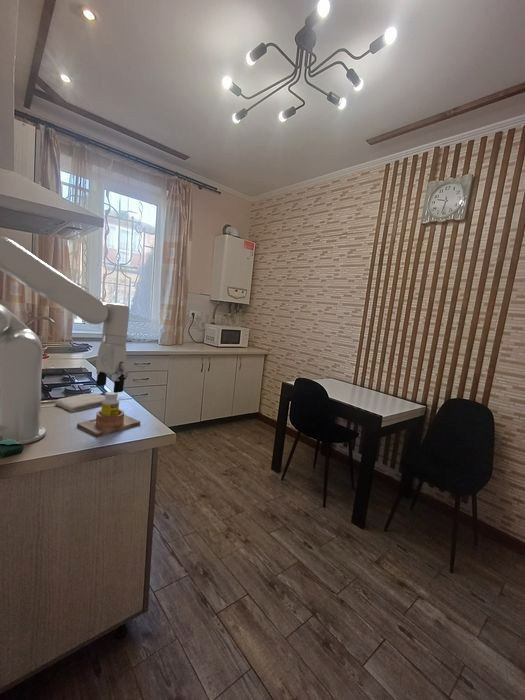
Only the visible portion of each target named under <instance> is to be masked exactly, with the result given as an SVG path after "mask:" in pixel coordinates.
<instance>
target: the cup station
mask: <svg viewBox="0 0 525 700" xmlns="http://www.w3.org/2000/svg"><path fill="white" fill-rule="evenodd" d="M140 425H141V420H138V419H135V418H133V417H131V416H129V415H127V414H125V412H124V410H122V409H119V411H118V415H116V416H102V415H101V410H98V411H97V412H96V416H95V418H93V419H90V420H85V421H82V422H81V421H80V422H77V423H76V427H77V428H79V429H81V430H83V431H85V432H86V431H87V433H88V432H89V434H90V433H91V435H92V434H93V436H94V435H95V436H94V437H96V436H97V438H100V436H101V437H103V435H104V436H106V435H110V434H114V433H116V432H120V431H123V430H126V429H127V430H128V429H130V428H133V427H137V426H140Z"/></svg>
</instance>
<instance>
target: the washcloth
mask: <svg viewBox="0 0 525 700" xmlns="http://www.w3.org/2000/svg"><path fill="white" fill-rule="evenodd" d="M103 399H105V395H103V394H100V393H98V392H94V393H82V394H78V395H72V396H67V397H62V398H58V399H56V400H55V401H54V405H55V406H57V407H60V408H63V409H65V410H66V411H69V412H71V413H72V412H73V413H75V412H78V411H83V410H87V409H88V410H89V409H91V408H96V407H102V400H103Z"/></svg>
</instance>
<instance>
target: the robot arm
mask: <svg viewBox="0 0 525 700" xmlns="http://www.w3.org/2000/svg"><path fill="white" fill-rule="evenodd" d="M0 271H1V272H2V273H4V274H5V275H7V276H9V277H11V279H14V280H15V281H17V282H18V283H20V284H22V285H24V286H25V287H26V288H28V289H29V290H32V291H33V292H35V293H36V294H38V295H39V296H41V297H43V298H45V299H48V300H50V301H52V302H54V303H55V304H57V305H58V306H61V307H62V308H63V309H66V310H67V311H68V312H70V313H72V314H74V315H75V316H77V317H78V318H79V319H81V320H82V321H84V322H86V323H88V324H91V325H100V324H102V325H103V326H102V334H101V342H100V345H99V347H98V351H97V356H96V360H95V361H94V362H95V370H96V384H95V386H96V387H102V386H106V385H107V377H108V375H110V376H111V375H112V376H113V375H114V378H115V380H114V383H113V384H114V385H113V392H114V393H122V392H124V385H125V381H126V379H127V378H128V375H129V373H130V369H129V368H128V367H127V337H128V329H129V321H130V320H129V319H130V307H129V305H126V304H123V303H116V302H104V301H101V300H100V299H98V298H97V297H95V296H94V295H93V294H91V293H90V292H88V291H86V290H85V289H83V288H82V287H81V286H79V285H78V284H76V283H74V281H72V280H71V279H69V278H67V277H66V276H65V275H63V274H62V273H60V271H58V270H56V269H55V268H54V267H52V266H50V265H49V264H47V263H46V262H45V261H43V260H41V259H40V258H38V257H37V256H35V255H34V254H33V253H31V252H30V251H28V250H27V249H25V248H24V247H23V246H21V245H20V244H18V243H17V242H15V241H14V240H12V239H10V238H8V237H5V236H2V235H1V236H0ZM43 358H44V348H43V343H42V341H41V340H40V337H39V336H38V335H37V334H36V333H35V332H33V330H31V328H30V327H28V326H27V325H26V324H25V323H24V322H22V320H21V319H19V318H18V317H17V316H16V315H15V314H14V313H12V312H11V311H10V310H9V309H8V308H7V307H5V306H4V305H2V304H1V303H0V441H2V440H7V439H13V440H16V441H17V442H19V443H21V445H25V444H30V443H33V442H34V443H35V442H36V441H38V440H41V439H42V438H44V437H45V436H46V434H47V431H46V430H47V429H46V428H44V427H43V426H41V406H42V405H41V404H42V403H41V402H42V375H43V374H42V373H43V371H42V369H43V360H44V359H43Z"/></svg>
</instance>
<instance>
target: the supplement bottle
mask: <svg viewBox="0 0 525 700" xmlns="http://www.w3.org/2000/svg"><path fill="white" fill-rule="evenodd" d="M118 393H119V392H118ZM118 393H114V391H105V393H104V396H105V399H103V400H102V405H101V415H102V416H116V415H118V411H119V408H120V400H119V398H118Z"/></svg>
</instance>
